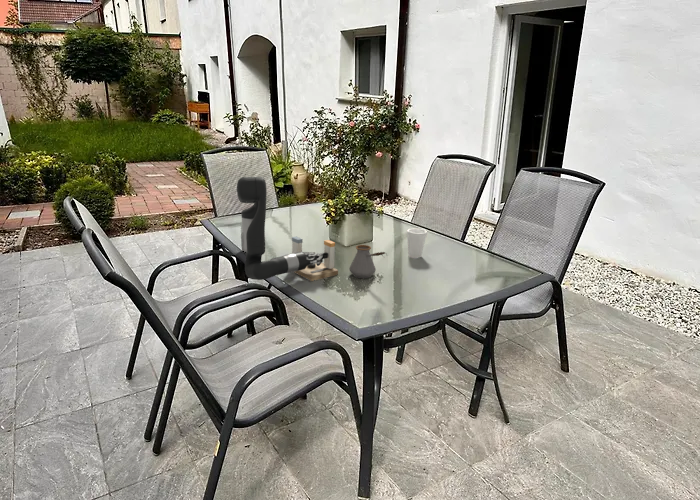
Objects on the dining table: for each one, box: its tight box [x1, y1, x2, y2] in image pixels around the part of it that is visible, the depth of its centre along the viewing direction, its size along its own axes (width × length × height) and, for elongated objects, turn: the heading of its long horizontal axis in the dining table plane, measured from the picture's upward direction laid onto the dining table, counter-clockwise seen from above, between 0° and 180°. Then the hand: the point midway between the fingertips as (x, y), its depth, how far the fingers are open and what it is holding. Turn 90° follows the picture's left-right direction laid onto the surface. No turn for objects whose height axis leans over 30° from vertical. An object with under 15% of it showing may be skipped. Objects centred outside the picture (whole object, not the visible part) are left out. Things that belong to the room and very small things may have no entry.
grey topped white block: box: [291, 236, 304, 254], centre depth 204 cm, size 2×5×12 cm, turn 40°
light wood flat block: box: [294, 262, 339, 282], centre depth 204 cm, size 14×20×3 cm
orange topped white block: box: [323, 239, 336, 269], centre depth 201 cm, size 2×5×12 cm, turn 40°
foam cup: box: [406, 228, 428, 259], centre depth 227 cm, size 10×9×13 cm
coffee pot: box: [348, 244, 388, 279], centre depth 196 cm, size 21×12×15 cm, turn 32°
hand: (327, 254), depth 200 cm, fingers closed
